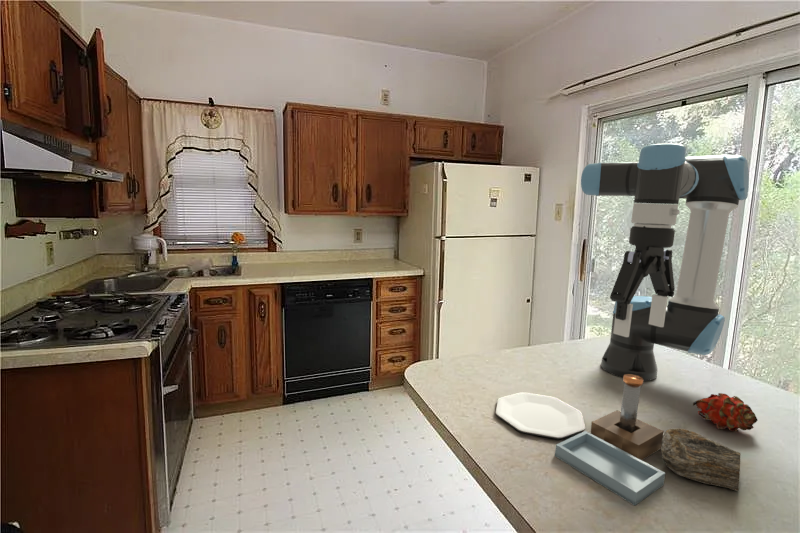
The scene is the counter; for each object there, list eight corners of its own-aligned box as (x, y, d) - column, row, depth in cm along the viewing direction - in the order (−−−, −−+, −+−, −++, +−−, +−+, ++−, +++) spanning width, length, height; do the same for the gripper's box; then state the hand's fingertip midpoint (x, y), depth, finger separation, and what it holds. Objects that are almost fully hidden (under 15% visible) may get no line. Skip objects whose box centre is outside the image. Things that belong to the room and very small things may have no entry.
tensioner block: (589, 438, 91) (591, 421, 90) (615, 426, 96) (617, 410, 95) (636, 463, 82) (638, 445, 82) (661, 448, 88) (663, 430, 87)
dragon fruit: (758, 447, 92) (693, 431, 101) (762, 415, 96) (700, 402, 105) (753, 424, 88) (686, 410, 97) (758, 392, 93) (694, 381, 102)
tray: (554, 456, 84) (555, 444, 84) (584, 441, 89) (585, 430, 89) (634, 505, 71) (636, 492, 70) (663, 485, 76) (665, 472, 76)
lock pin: (612, 441, 90) (620, 376, 87) (621, 436, 92) (629, 372, 89) (628, 450, 87) (637, 383, 84) (637, 445, 89) (646, 379, 86)
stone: (646, 453, 80) (668, 409, 83) (653, 469, 86) (674, 427, 89) (730, 499, 70) (753, 447, 72) (732, 513, 76) (753, 465, 79)
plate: (539, 450, 86) (540, 444, 86) (479, 407, 104) (480, 402, 103) (602, 428, 95) (602, 422, 95) (537, 392, 113) (538, 387, 112)
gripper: (638, 228, 72) (624, 345, 75) (702, 226, 85) (687, 326, 89) (597, 225, 78) (586, 333, 81) (663, 224, 91) (651, 317, 95)
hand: (639, 330), depth 85 cm, fingers open, 13 cm apart
